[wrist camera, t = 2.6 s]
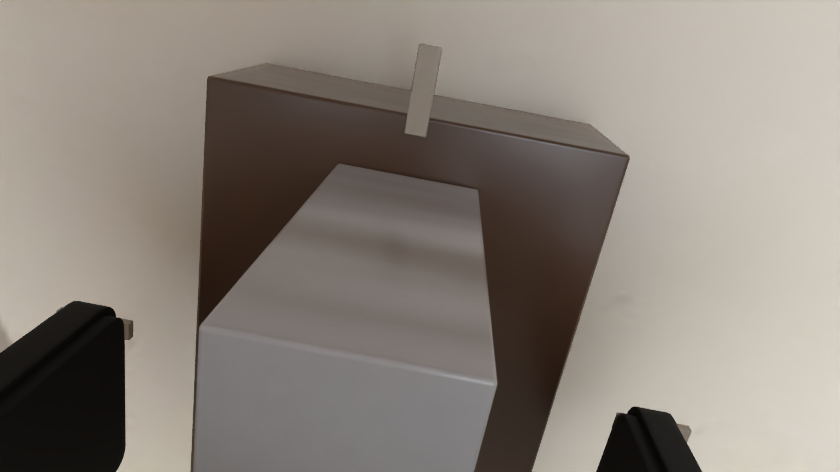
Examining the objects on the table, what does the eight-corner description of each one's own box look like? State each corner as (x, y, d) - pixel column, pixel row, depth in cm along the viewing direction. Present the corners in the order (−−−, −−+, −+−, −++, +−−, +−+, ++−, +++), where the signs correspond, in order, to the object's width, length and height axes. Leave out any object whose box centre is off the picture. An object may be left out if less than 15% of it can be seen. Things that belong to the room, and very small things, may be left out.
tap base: (143, -17, 12) (36, -30, 9) (733, 95, 12) (824, 120, 9) (141, 454, 16) (70, 551, 13) (572, 535, 16) (597, 651, 13)
